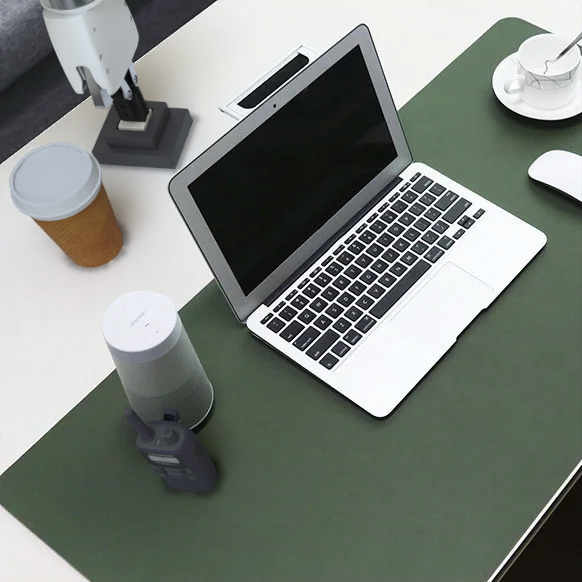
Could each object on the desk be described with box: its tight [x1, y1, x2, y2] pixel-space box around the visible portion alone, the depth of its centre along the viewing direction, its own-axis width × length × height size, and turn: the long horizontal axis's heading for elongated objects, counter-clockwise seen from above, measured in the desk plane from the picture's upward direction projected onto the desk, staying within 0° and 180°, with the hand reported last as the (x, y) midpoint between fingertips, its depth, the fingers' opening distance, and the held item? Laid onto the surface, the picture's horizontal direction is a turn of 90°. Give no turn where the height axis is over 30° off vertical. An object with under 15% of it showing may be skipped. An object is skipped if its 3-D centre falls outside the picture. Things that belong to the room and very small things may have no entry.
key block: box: [91, 100, 194, 170], centre depth 101 cm, size 10×8×4 cm
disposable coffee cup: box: [8, 141, 124, 269], centre depth 91 cm, size 10×10×12 cm
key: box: [118, 109, 152, 131], centre depth 100 cm, size 3×3×2 cm
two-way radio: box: [122, 406, 219, 493], centre depth 75 cm, size 6×4×15 cm
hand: (135, 116), depth 99 cm, fingers closed
